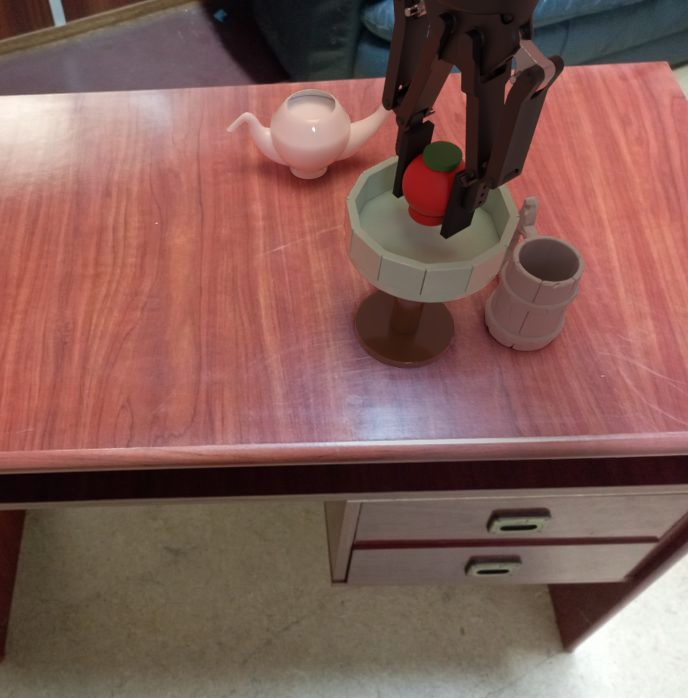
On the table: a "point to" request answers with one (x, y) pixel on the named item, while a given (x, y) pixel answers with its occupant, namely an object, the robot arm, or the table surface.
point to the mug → (533, 286)
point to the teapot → (311, 132)
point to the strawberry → (431, 182)
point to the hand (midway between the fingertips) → (430, 208)
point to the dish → (417, 266)
